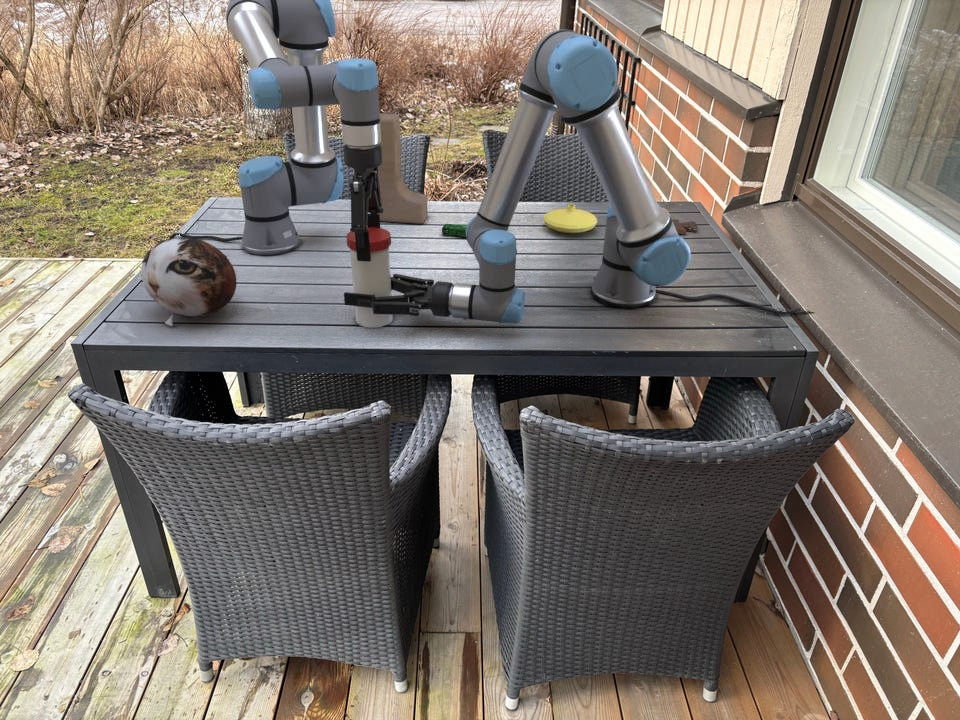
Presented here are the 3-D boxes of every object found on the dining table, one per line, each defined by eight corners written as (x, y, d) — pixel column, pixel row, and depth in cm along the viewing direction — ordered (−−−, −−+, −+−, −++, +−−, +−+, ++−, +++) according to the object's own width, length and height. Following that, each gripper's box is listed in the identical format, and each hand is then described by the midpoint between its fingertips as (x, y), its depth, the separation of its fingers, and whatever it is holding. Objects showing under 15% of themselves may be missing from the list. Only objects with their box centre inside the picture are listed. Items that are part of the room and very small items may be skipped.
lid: (362, 233, 156) (361, 224, 155) (399, 240, 153) (398, 231, 152) (338, 247, 149) (337, 238, 148) (376, 255, 146) (375, 245, 145)
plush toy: (103, 301, 154) (138, 216, 155) (170, 324, 169) (201, 246, 171) (169, 326, 143) (206, 234, 145) (233, 348, 159) (266, 265, 160)
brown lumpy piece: (700, 236, 208) (693, 224, 217) (701, 230, 207) (694, 219, 216) (612, 233, 208) (607, 221, 217) (613, 227, 207) (608, 216, 216)
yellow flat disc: (559, 216, 220) (561, 193, 217) (605, 227, 212) (608, 204, 209) (532, 230, 209) (533, 207, 206) (580, 242, 201) (582, 218, 198)
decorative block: (423, 224, 212) (420, 120, 197) (373, 221, 214) (367, 118, 199) (428, 216, 219) (425, 114, 203) (380, 213, 220) (374, 112, 205)
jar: (355, 328, 156) (348, 246, 146) (356, 311, 163) (349, 232, 154) (393, 326, 157) (389, 245, 147) (392, 309, 164) (388, 230, 155)
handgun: (511, 219, 210) (493, 234, 198) (511, 228, 211) (492, 244, 199) (461, 212, 215) (440, 226, 203) (461, 221, 217) (440, 236, 204)
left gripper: (357, 130, 150) (364, 232, 162) (327, 158, 131) (338, 271, 143) (392, 132, 150) (397, 234, 161) (367, 160, 131) (375, 273, 142)
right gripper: (440, 338, 147) (336, 326, 151) (462, 295, 165) (368, 285, 168) (439, 305, 143) (332, 294, 147) (462, 264, 161) (366, 256, 165)
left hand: (369, 251), depth 152 cm, fingers closed on lid, 9 cm apart
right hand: (352, 289), depth 158 cm, fingers closed on jar, 8 cm apart
